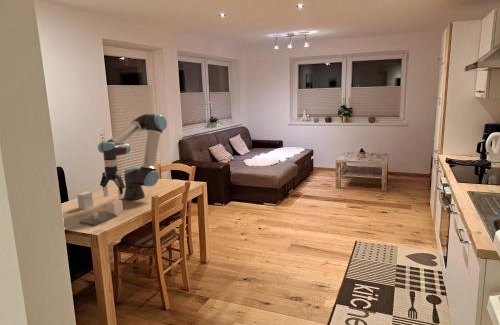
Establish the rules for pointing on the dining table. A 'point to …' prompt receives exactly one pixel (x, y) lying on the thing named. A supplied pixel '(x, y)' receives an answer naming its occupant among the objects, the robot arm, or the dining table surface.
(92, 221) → the shaft plate
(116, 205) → the white block
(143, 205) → the dining table surface
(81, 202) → the small box
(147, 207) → the dining table surface
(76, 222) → the dining table surface
